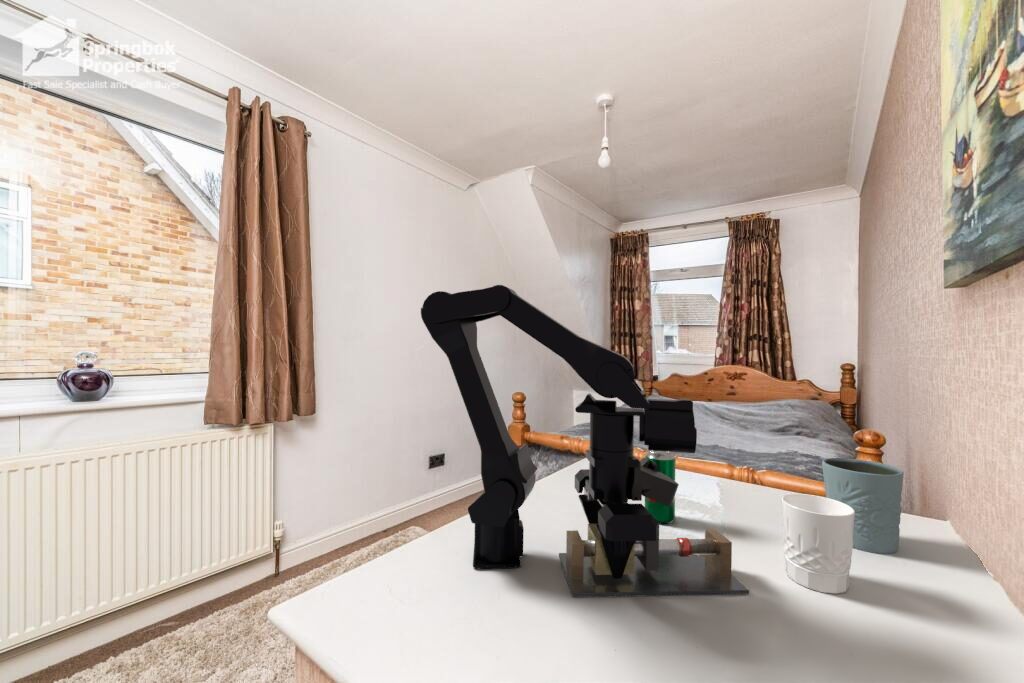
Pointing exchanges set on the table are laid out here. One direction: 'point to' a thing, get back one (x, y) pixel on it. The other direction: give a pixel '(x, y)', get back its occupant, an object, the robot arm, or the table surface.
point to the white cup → (818, 541)
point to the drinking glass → (868, 500)
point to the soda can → (667, 467)
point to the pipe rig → (679, 570)
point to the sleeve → (600, 560)
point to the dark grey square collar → (650, 556)
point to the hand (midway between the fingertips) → (609, 564)
